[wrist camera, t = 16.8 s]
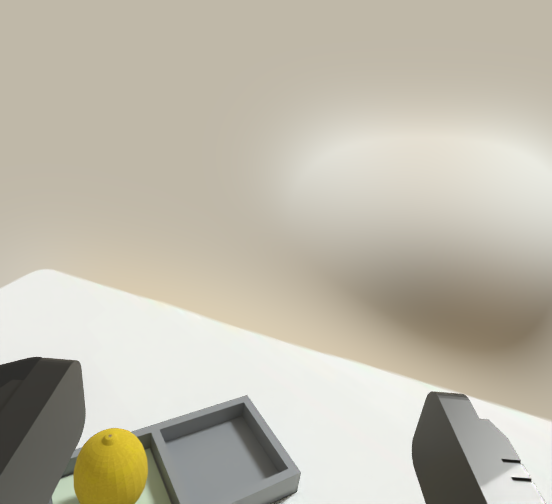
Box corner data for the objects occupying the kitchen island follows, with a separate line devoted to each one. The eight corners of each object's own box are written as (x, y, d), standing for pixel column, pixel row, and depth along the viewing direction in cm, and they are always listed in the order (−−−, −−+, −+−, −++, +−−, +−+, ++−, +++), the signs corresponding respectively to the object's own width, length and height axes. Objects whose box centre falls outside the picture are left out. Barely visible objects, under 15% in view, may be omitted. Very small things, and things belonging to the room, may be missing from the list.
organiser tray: (244, 412, 49) (247, 395, 48) (296, 491, 41) (300, 472, 40) (36, 483, 39) (33, 462, 38) (50, 606, 31) (47, 585, 30)
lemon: (117, 552, 34) (113, 479, 30) (61, 519, 35) (52, 447, 32) (161, 493, 38) (162, 424, 35) (110, 467, 40) (106, 399, 37)
